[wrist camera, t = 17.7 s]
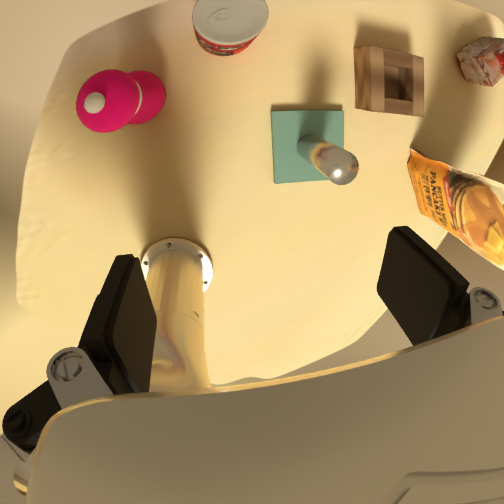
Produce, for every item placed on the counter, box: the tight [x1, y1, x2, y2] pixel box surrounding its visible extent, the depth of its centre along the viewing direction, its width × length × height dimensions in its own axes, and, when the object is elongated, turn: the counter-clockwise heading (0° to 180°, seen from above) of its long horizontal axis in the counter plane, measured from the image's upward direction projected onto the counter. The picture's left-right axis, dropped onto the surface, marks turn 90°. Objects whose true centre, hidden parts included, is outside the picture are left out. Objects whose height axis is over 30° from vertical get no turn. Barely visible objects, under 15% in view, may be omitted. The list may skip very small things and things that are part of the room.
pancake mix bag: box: [407, 148, 504, 271], centre depth 35 cm, size 7×19×28 cm, turn 32°
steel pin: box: [297, 134, 359, 185], centre depth 35 cm, size 4×4×12 cm
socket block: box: [354, 46, 424, 117], centre depth 34 cm, size 10×10×5 cm
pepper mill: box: [76, 70, 166, 133], centre depth 26 cm, size 7×7×20 cm
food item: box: [456, 37, 504, 87], centre depth 29 cm, size 14×8×10 cm, turn 132°
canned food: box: [192, 0, 268, 56], centre depth 26 cm, size 8×8×11 cm
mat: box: [271, 110, 344, 184], centre depth 41 cm, size 11×11×1 cm
